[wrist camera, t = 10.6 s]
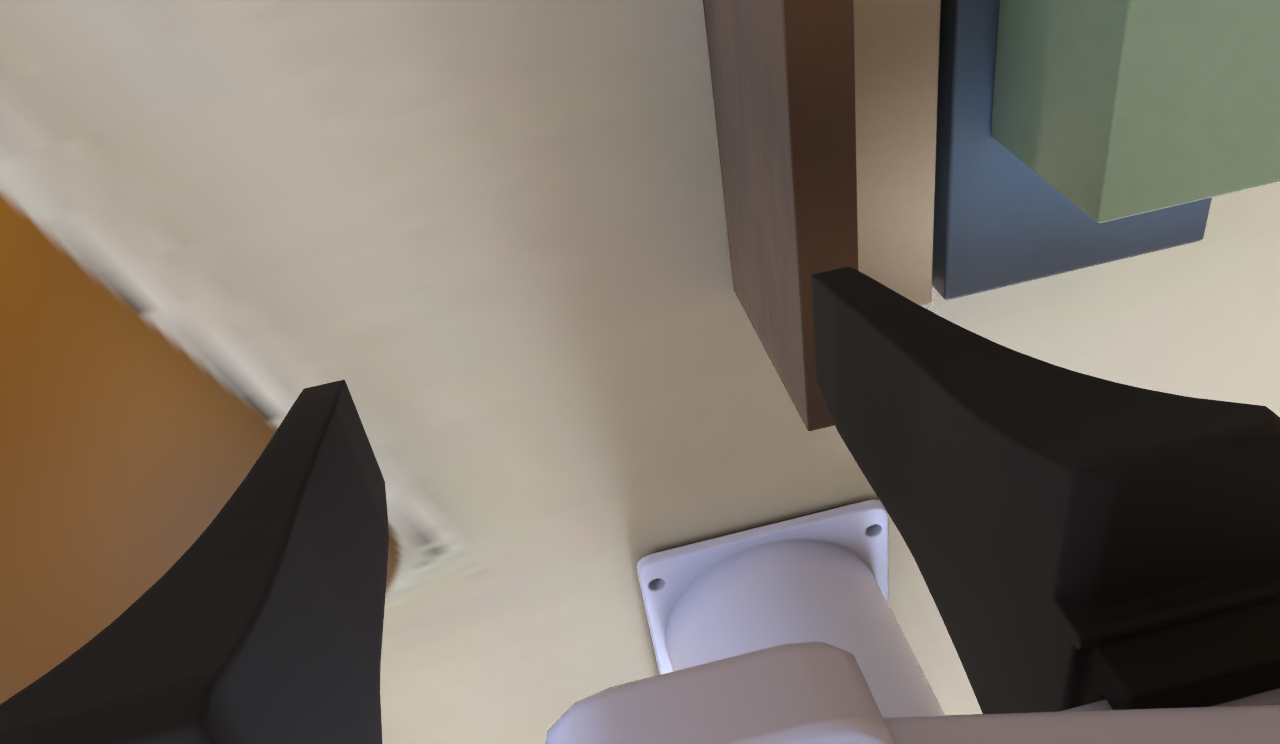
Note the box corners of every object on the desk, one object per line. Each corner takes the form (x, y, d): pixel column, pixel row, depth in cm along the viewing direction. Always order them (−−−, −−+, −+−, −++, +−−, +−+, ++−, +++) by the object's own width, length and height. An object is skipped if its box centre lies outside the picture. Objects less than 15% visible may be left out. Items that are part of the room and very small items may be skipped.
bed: (1130, 199, 27) (1288, 316, 22) (733, 290, 26) (808, 432, 21) (1228, -410, 19) (1502, -432, 14) (669, -305, 19) (764, -292, 14)
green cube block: (1181, 94, 22) (1322, 172, 19) (989, 136, 22) (1098, 224, 18) (1221, -126, 19) (1394, -81, 16) (1004, -81, 19) (1133, -25, 16)
